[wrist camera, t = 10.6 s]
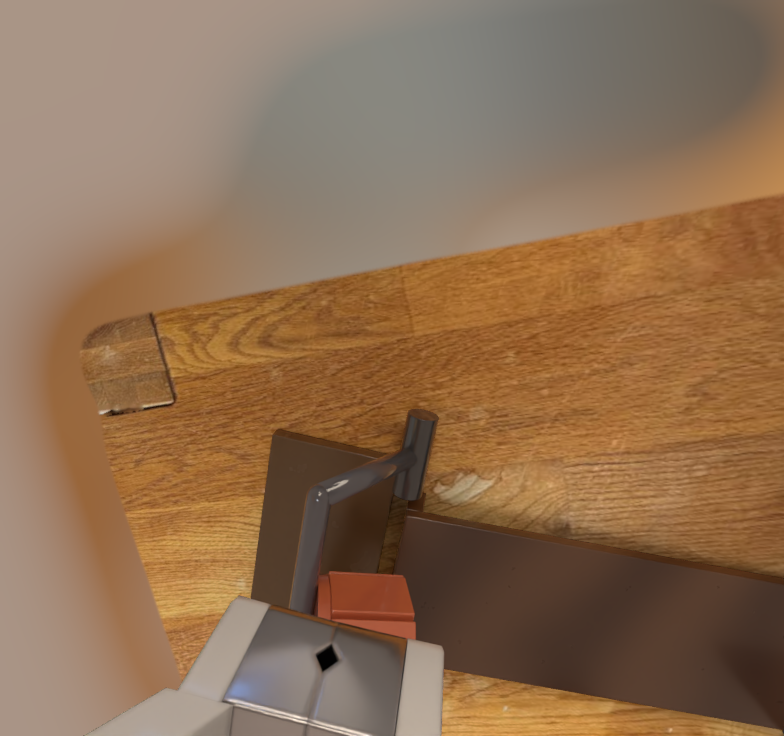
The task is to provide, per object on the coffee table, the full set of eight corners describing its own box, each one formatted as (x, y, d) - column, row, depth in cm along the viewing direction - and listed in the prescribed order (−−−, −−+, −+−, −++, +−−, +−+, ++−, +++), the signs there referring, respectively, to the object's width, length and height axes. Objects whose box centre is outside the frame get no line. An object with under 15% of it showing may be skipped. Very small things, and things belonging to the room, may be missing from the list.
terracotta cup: (265, 803, 23) (420, 799, 25) (315, 492, 19) (497, 508, 21) (277, 624, 33) (387, 628, 35) (312, 395, 29) (434, 410, 31)
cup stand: (252, 612, 37) (176, 747, 27) (277, 428, 33) (200, 507, 23) (363, 640, 36) (326, 789, 26) (400, 456, 33) (374, 550, 23)
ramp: (841, 588, 31) (885, 628, 28) (779, 720, 34) (812, 770, 30) (410, 488, 33) (405, 515, 30) (382, 620, 36) (374, 657, 32)
